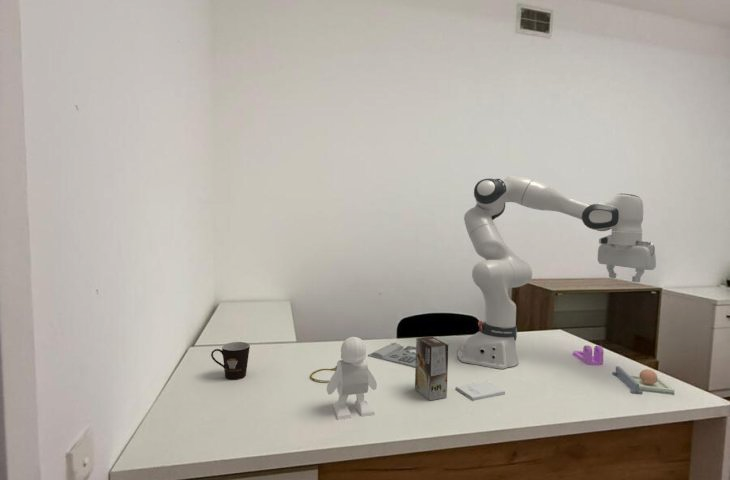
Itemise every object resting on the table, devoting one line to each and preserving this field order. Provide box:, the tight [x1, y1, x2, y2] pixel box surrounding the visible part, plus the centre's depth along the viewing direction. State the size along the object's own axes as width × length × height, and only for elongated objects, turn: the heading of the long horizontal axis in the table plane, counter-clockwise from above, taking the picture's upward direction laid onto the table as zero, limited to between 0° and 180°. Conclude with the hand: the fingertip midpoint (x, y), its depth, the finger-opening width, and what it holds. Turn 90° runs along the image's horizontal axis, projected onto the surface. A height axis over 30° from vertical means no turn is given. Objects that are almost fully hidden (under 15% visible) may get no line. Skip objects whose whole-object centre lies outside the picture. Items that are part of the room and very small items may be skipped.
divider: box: [611, 365, 643, 395], centre depth 128 cm, size 3×16×3 cm, turn 166°
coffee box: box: [414, 336, 450, 401], centre depth 116 cm, size 9×6×16 cm
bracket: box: [572, 345, 604, 366], centre depth 151 cm, size 13×6×7 cm, turn 179°
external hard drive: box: [455, 380, 506, 402], centre depth 119 cm, size 2×8×12 cm
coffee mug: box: [210, 341, 251, 381], centre depth 125 cm, size 12×9×10 cm
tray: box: [628, 374, 675, 395], centre depth 127 cm, size 10×10×1 cm
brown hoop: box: [309, 365, 337, 384], centre depth 128 cm, size 12×16×2 cm
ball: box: [638, 369, 658, 385], centre depth 127 cm, size 5×5×5 cm
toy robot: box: [326, 336, 377, 420], centre depth 105 cm, size 14×9×20 cm, turn 107°
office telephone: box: [367, 342, 416, 369], centre depth 150 cm, size 23×3×20 cm
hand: (623, 279), depth 134 cm, fingers open, 8 cm apart
